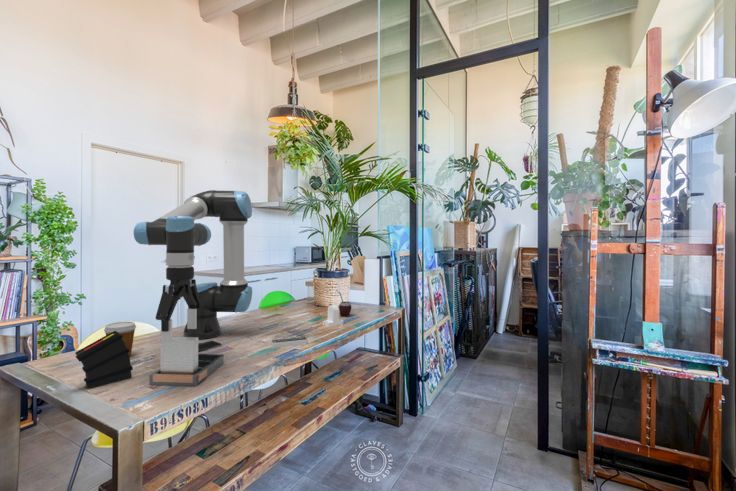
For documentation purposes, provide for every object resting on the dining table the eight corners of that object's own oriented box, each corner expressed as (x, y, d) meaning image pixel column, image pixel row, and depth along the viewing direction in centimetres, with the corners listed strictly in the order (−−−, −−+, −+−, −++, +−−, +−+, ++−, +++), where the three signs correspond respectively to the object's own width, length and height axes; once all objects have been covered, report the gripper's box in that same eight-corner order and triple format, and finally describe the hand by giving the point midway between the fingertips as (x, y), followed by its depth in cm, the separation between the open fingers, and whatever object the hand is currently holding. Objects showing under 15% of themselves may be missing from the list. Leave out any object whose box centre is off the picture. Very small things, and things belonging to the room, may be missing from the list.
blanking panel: (160, 378, 105) (160, 339, 104) (166, 374, 108) (166, 336, 107) (192, 379, 104) (193, 340, 104) (198, 375, 107) (198, 337, 107)
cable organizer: (322, 324, 177) (322, 305, 177) (338, 322, 184) (338, 303, 183) (327, 326, 173) (328, 307, 173) (343, 324, 179) (344, 305, 179)
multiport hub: (307, 344, 145) (307, 339, 145) (272, 348, 139) (272, 343, 139) (305, 341, 149) (305, 336, 149) (270, 345, 143) (270, 340, 143)
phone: (175, 349, 132) (211, 340, 145) (175, 352, 132) (211, 342, 145) (186, 353, 128) (222, 343, 140) (186, 356, 128) (222, 346, 140)
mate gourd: (353, 316, 196) (353, 290, 196) (340, 318, 192) (341, 291, 192) (347, 314, 202) (347, 288, 202) (335, 315, 199) (335, 289, 198)
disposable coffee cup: (141, 356, 126) (141, 323, 126) (111, 364, 118) (111, 329, 118) (128, 351, 131) (128, 320, 131) (98, 358, 123) (98, 325, 123)
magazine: (143, 369, 110) (119, 331, 104) (97, 400, 101) (68, 360, 95) (139, 366, 112) (116, 329, 107) (94, 396, 103) (65, 357, 98)
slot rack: (149, 384, 103) (149, 374, 103) (184, 361, 122) (184, 353, 122) (197, 386, 102) (197, 376, 102) (224, 363, 121) (224, 354, 121)
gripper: (167, 271, 93) (167, 348, 93) (211, 263, 118) (211, 324, 118) (140, 270, 93) (140, 348, 94) (190, 262, 118) (189, 323, 119)
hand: (180, 334), depth 106 cm, fingers open, 13 cm apart
